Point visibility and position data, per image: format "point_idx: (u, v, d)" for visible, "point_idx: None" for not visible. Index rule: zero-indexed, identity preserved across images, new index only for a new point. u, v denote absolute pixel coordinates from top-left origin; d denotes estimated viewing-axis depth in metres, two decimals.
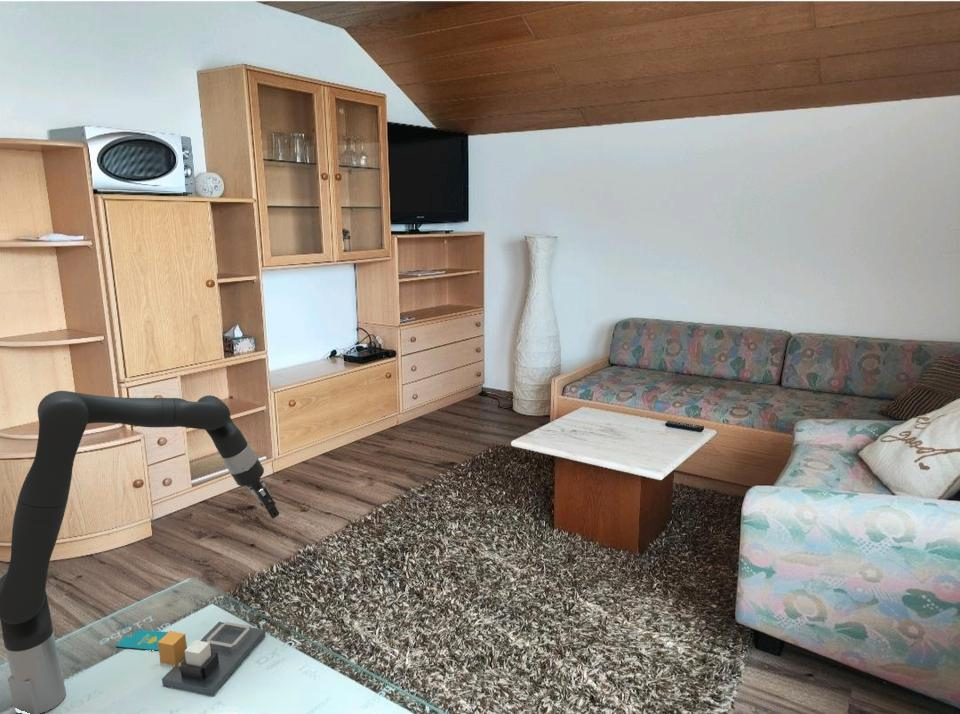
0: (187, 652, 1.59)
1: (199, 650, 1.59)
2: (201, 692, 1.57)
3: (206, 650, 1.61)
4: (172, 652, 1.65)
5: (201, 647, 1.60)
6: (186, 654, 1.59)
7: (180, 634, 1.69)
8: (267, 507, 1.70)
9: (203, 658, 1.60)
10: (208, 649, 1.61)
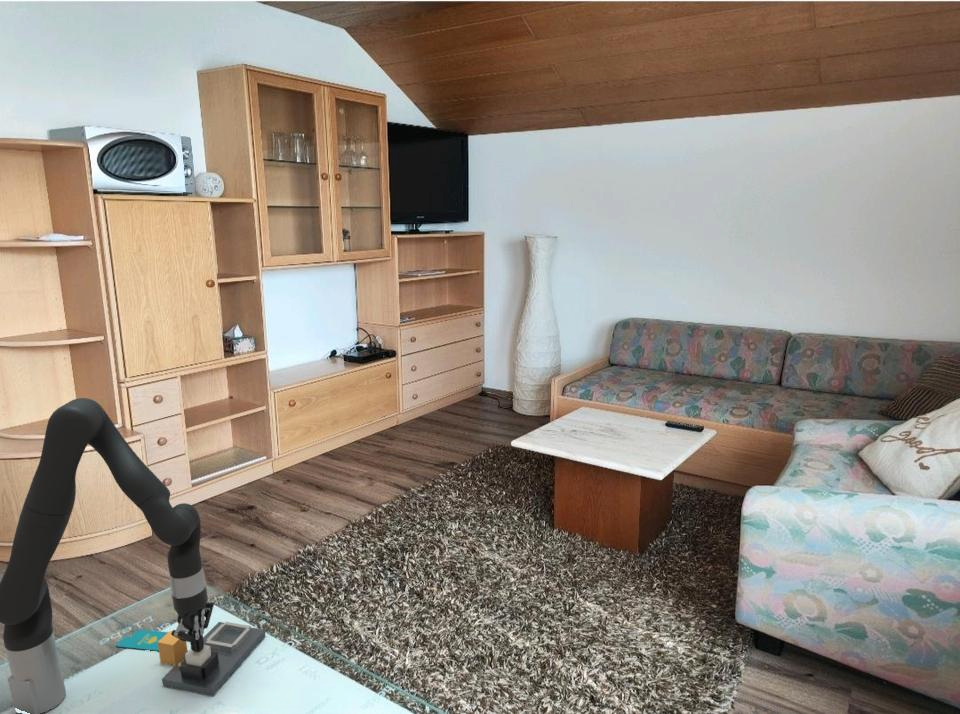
0: (188, 655, 1.59)
1: (200, 653, 1.59)
2: (201, 692, 1.57)
3: (206, 653, 1.61)
4: (172, 652, 1.65)
5: (201, 650, 1.60)
6: (187, 657, 1.59)
7: None
8: (183, 640, 1.57)
9: (203, 661, 1.60)
10: (208, 652, 1.62)
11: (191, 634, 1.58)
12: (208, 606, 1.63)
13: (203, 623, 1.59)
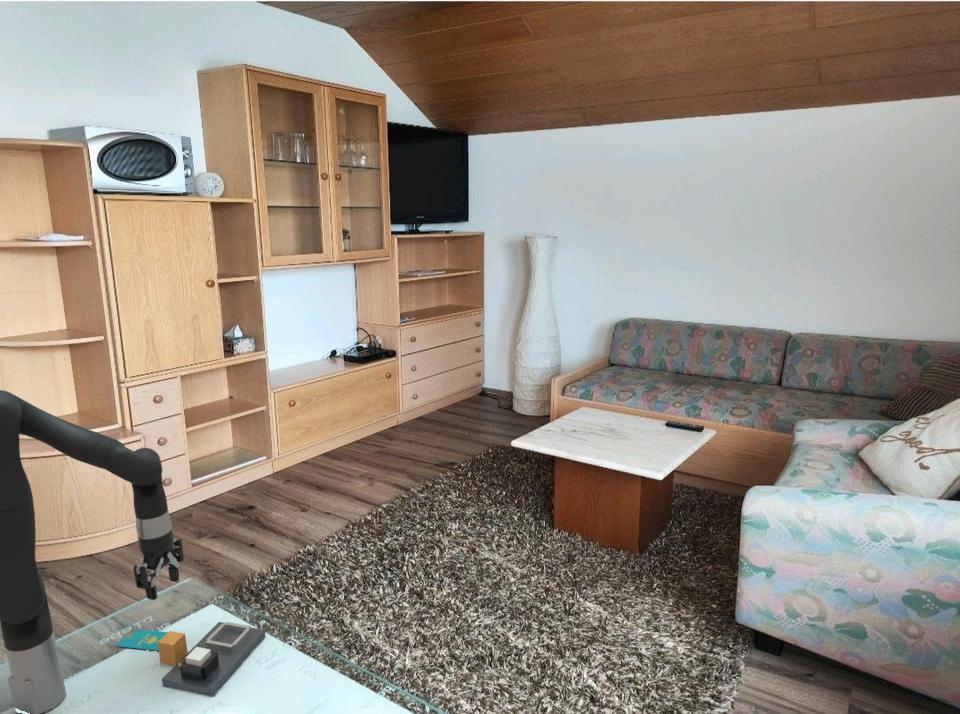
0: (188, 659, 1.59)
1: (200, 657, 1.60)
2: (201, 692, 1.57)
3: (207, 657, 1.61)
4: (172, 652, 1.65)
5: (202, 654, 1.61)
6: (187, 661, 1.60)
7: (180, 634, 1.69)
8: (137, 586, 1.57)
9: None
10: (209, 656, 1.62)
11: None
12: (176, 544, 1.67)
13: (174, 560, 1.65)
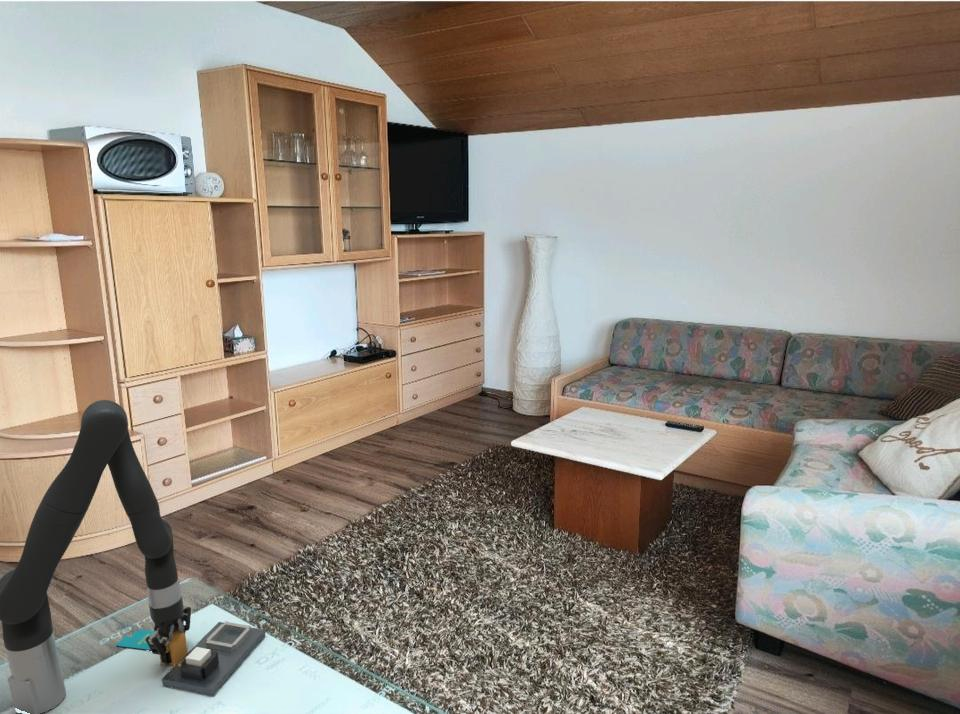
0: (188, 659, 1.59)
1: (200, 657, 1.60)
2: (201, 692, 1.57)
3: (207, 657, 1.61)
4: (172, 651, 1.65)
5: (202, 654, 1.61)
6: (187, 661, 1.60)
7: (180, 634, 1.69)
8: (153, 652, 1.63)
9: None
10: (209, 656, 1.62)
11: (161, 647, 1.65)
12: (185, 611, 1.71)
13: (182, 628, 1.69)
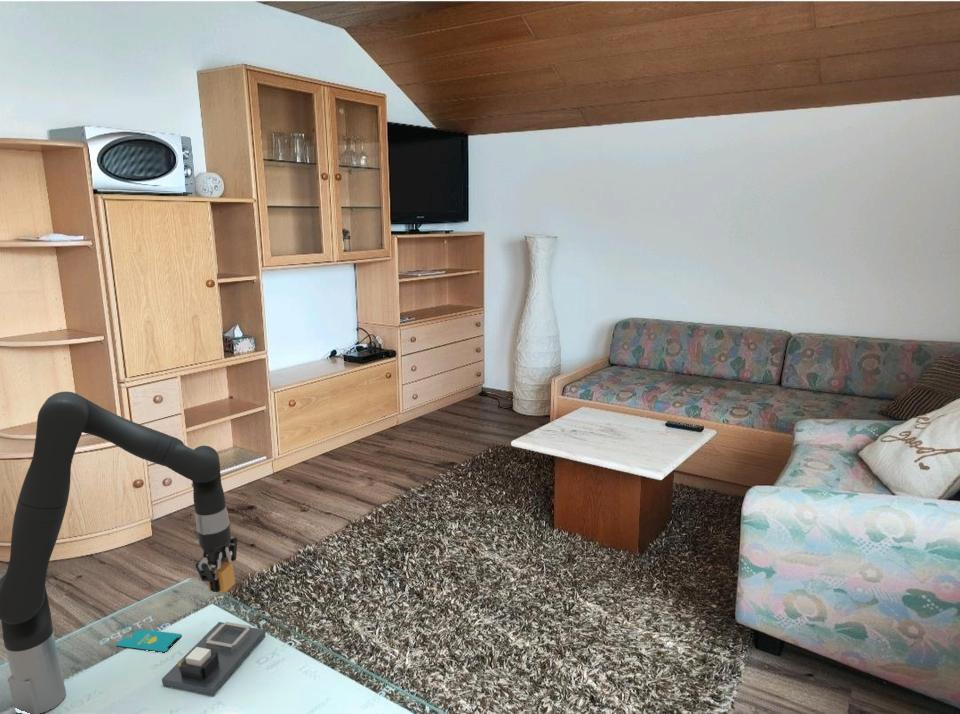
0: (188, 659, 1.59)
1: (200, 657, 1.60)
2: (201, 692, 1.57)
3: (207, 657, 1.61)
4: (221, 579, 1.65)
5: (202, 654, 1.61)
6: (187, 661, 1.60)
7: (228, 563, 1.69)
8: (202, 579, 1.63)
9: None
10: (209, 656, 1.62)
11: None
12: (232, 541, 1.71)
13: (230, 557, 1.69)
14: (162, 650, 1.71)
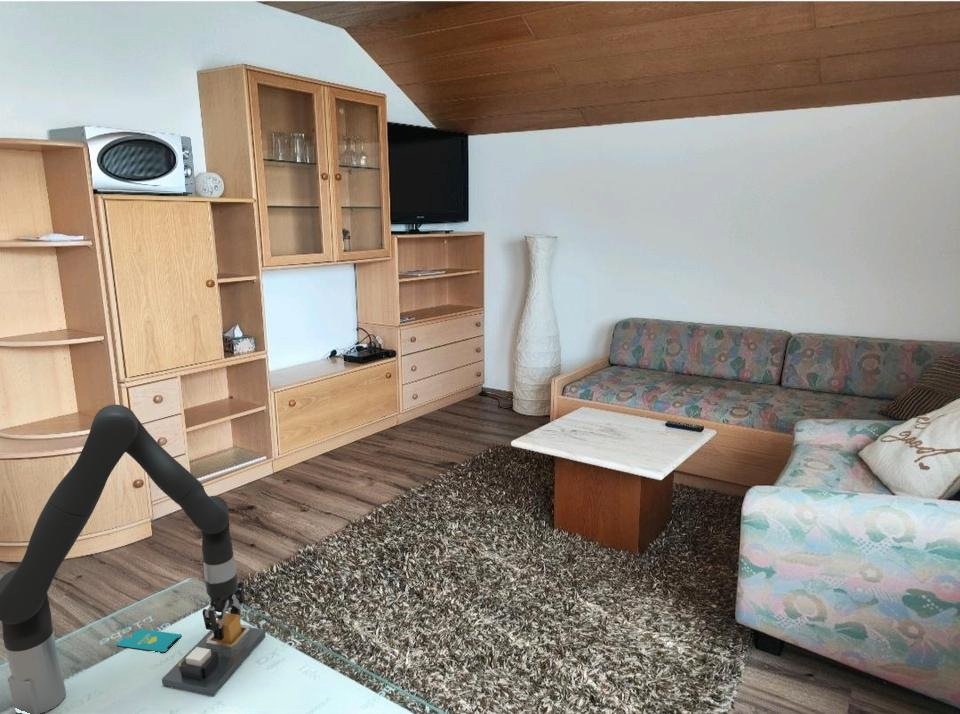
0: (188, 659, 1.59)
1: (200, 657, 1.60)
2: (201, 692, 1.57)
3: (207, 657, 1.61)
4: (228, 632, 1.69)
5: (202, 654, 1.61)
6: (187, 661, 1.60)
7: (235, 615, 1.72)
8: (206, 628, 1.65)
9: None
10: (209, 656, 1.62)
11: None
12: (239, 586, 1.75)
13: (237, 602, 1.73)
14: (162, 650, 1.71)
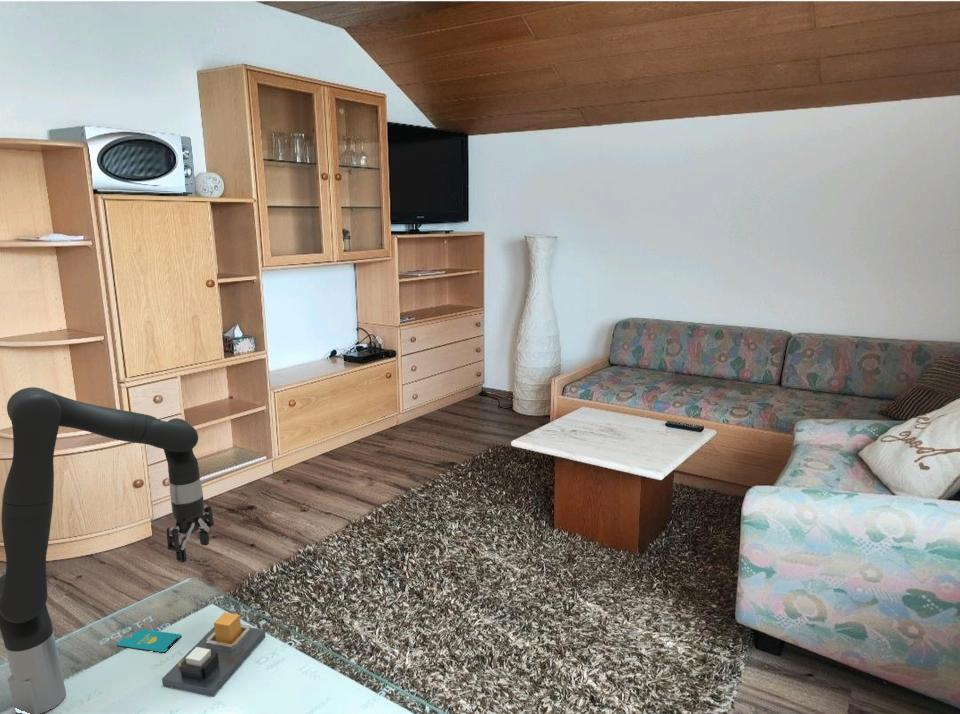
0: (188, 659, 1.59)
1: (200, 657, 1.60)
2: (201, 692, 1.57)
3: (207, 657, 1.61)
4: (228, 632, 1.69)
5: (202, 654, 1.61)
6: (187, 661, 1.60)
7: (235, 615, 1.72)
8: (169, 548, 1.65)
9: None
10: (209, 656, 1.62)
11: None
12: (206, 510, 1.76)
13: (205, 525, 1.74)
14: (161, 650, 1.71)
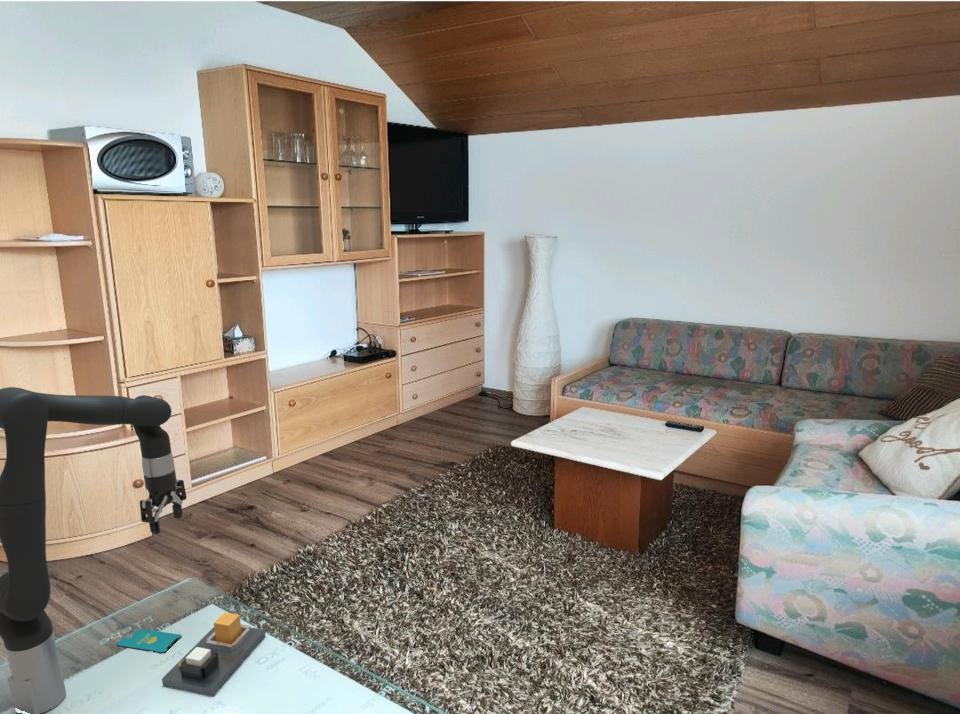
0: (188, 659, 1.59)
1: (200, 657, 1.60)
2: (201, 692, 1.57)
3: (207, 657, 1.61)
4: (228, 632, 1.69)
5: (202, 654, 1.61)
6: (187, 661, 1.60)
7: (235, 615, 1.72)
8: (142, 519, 1.71)
9: None
10: (209, 656, 1.62)
11: None
12: (179, 484, 1.81)
13: (177, 498, 1.79)
14: (161, 650, 1.71)
